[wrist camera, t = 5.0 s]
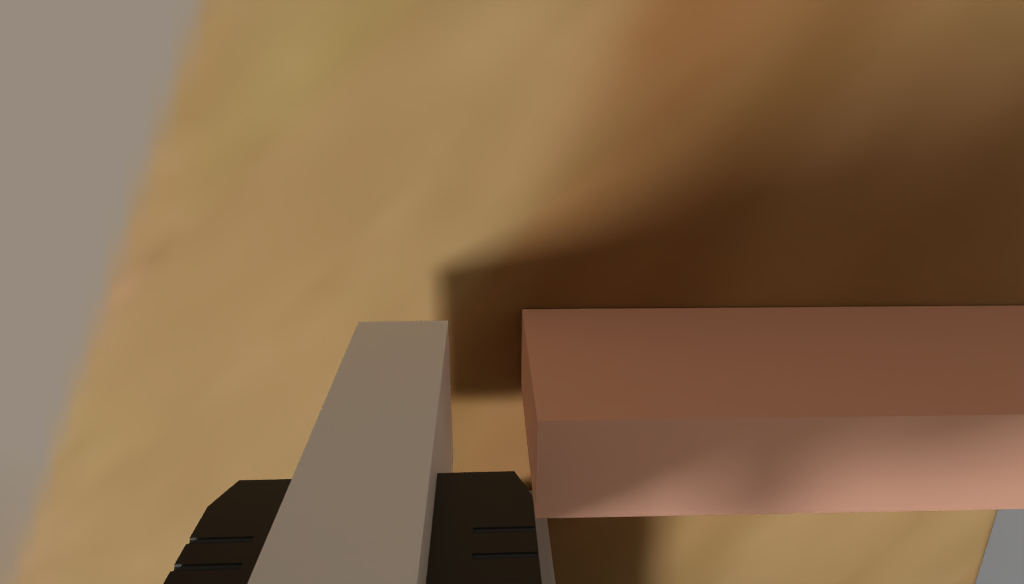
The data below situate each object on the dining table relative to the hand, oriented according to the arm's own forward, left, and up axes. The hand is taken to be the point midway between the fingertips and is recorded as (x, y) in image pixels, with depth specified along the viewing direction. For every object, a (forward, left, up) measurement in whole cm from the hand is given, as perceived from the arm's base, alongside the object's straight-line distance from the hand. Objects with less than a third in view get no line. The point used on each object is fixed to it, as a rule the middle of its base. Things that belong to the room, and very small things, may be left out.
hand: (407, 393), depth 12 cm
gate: (-7, 0, -2) cm, 8 cm away
